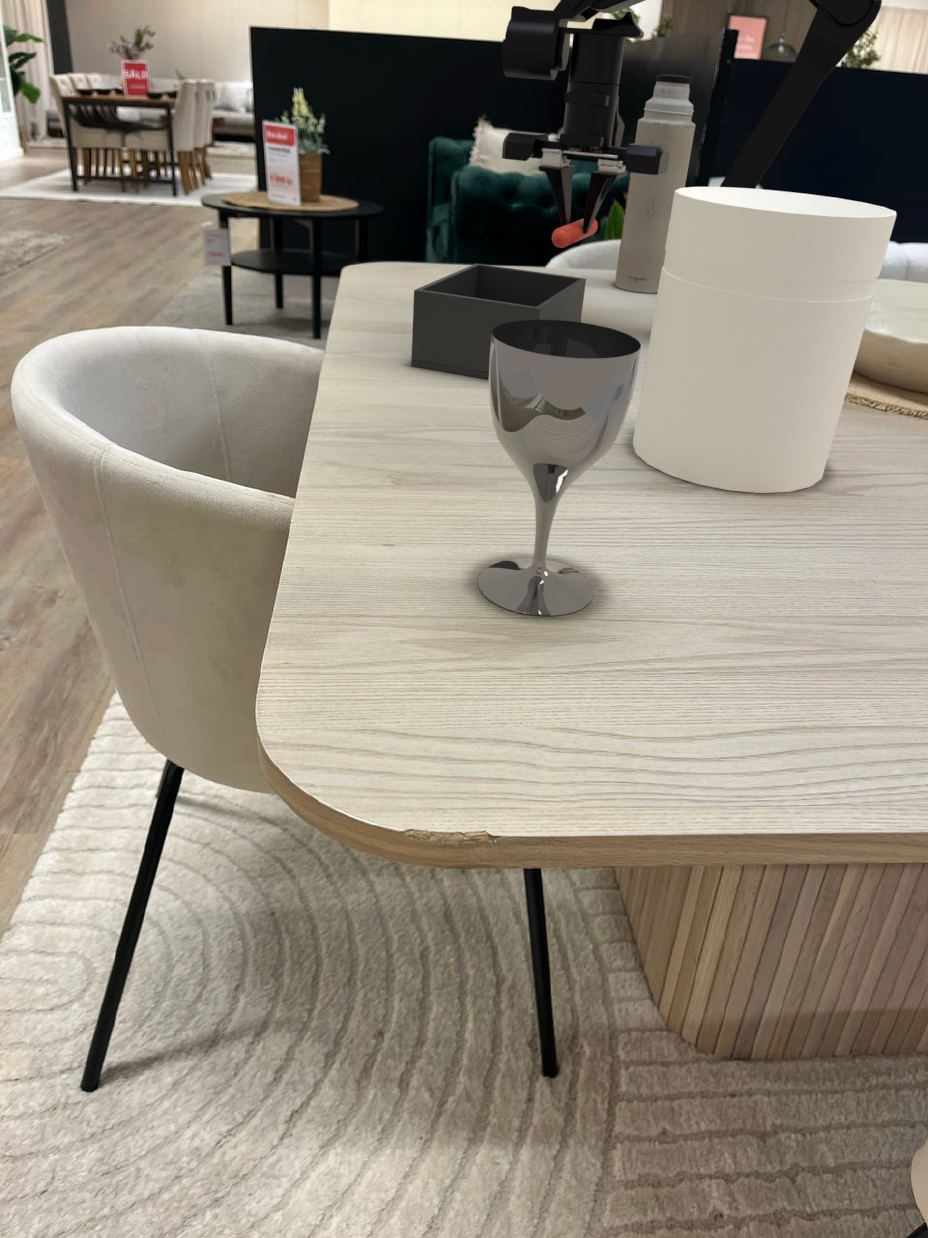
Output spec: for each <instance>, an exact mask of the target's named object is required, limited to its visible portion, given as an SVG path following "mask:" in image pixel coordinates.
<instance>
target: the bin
mask: <svg viewBox="0 0 928 1238" xmlns="http://www.w3.org/2000/svg"><path fill="white" fill-rule="evenodd" d="M586 283H587V278H585V277H576V276H569V275H563V274H554V273H547V272H539V271H533V270H525V269H519V268H512V267H504V266H498V265H489V264H483V263H474V264H472V265H469V266H467V267H464V268H462V269H460V270H457V271H456V272H455V271H454V272H453V273H451V274H448V275H446V276H443V277H441V278H439V279H437V280H434V281H432V282H429V283H426V284H424V285H422V286H420V287H418V288H416V289H413V306H412V307H413V309H412V334H411V335H412V336H411V339H412V340H411V361H410V365H411V367H417V368H422V369H428V370H435V371H438V372H439V371H440V372H444V373H445V372H446V373H451V374H457V375H463V376H469V377H474V378H480V379H486V380H489V354H490V343H491V334H492V330H493V329H494V328H495V327H497V326H498V325H501V324H504V323H508V322H514V321H522V320H562V321H572V322H581V323H582V315H583V308H584V307H583V306H584V298H585V290H586V285H587V284H586Z"/></svg>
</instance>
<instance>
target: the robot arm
mask: <svg viewBox="0 0 928 1238" xmlns="http://www.w3.org/2000/svg"><path fill="white" fill-rule="evenodd" d="M645 1H646V0H560V1H559V2H558V3H557V5H556V6H555V7H554V8H553V10H552V9H550V10H549V9H536V8H529V7H527V6H521V5H513V6H512V7H511V11H510V19H509V21H508V23H507V27H506V31H505V35H504V38H503V39H502V46H501V63H502V65H501V67H502V71H503V74H504V76H505V77H507V78H508V77H509V78H518V79H519V78H520V79H531V80H532V79H533V80H545V81H555V79H556V78H557V75H558V72H559V71H562V72H563V71H565V70H567V69H566V68H567V65H568V62H569V61H570V63H569V64H570V65H569V72H568V82H567V89H566V91H564V95H563V96H564V97H563V103H564V104H565V110H564V117H563V119H564V120H563V126H562V127H563V128H562V133H559V140H558V141H556V140H550V139H549V138H550V137H549V134H548V133H542V132H530V131H511V132H508V133H507V134H506V135H505V136H504V139H503V142H502V151H501V159H504V160H510V161H520V162H528V160H529V159H530V158H531V159H538V160H539V159H540V160H541V163H540V164H541V165H539V166H538V171H539V172H543V173H545V176H546V178H547V180H548V183H549V186H550V188H551V191H552V194H553V197H554V201H555V205H556V209H557V212H558V217H559V221H560V225H561V227H562V226H565V225H567V224H570V222H571V213H572V194H573V193H572V192H573V190H572V189H573V180H574V179H573V178H574V174H575V170H576V165H572V164H571V165H570V162H571V161H578V162H579V161H580V162H587V163H588V162H589V163H596V164H597V167H598V168H597V170H594V171H591V174H590V179H589V184H588V190H587V196H586V204H585V210H584V215H583V218H584V221H583V234H588V232H589V230H590V228H591V226H592V224H593V221H594V219H595V220H596V217H597V214H598V212H599V210H600V207H601V206H602V203H603V202H604V200H605V198H606V196H607V194H608V192H609V190H610V189H611V187H612V185H613V184H614V183H615V182H616V180H618V179H623V178H626V176H627V173H628V172H629V173H630V174H631V173H640V174H649V175H659V174H663V173H666V172H667V168H668V162H669V150H668V149H667V147H666V146H665V145H655V144H644V143H635V142H634V143H629V144H628V145H627V147H621V146H622V142H623V136H624V133H625V128H626V127H625V123H624V121H623V119H622V117H621V115H620V113H619V104H620V101H619V100H620V95H619V89H620V86H619V85H620V80H621V73H622V65H623V59H624V52H625V43H626V39H633V40H634V39H635V40H636V39H637V40H641V39H643V38H644V37H645V31H644V30H642V28H641V27H640V26H639V24H638V22H637V21H636V18H635V14H634V13H633V12H631V11H627V12H626V13H625V14H624V16H622V17H621V18H620V19H619V18H618V19H617V18H604V17H595V16H596V15H598V14H600V13H602V14H613V13H617V12H619V11H622V10H625V9H627V8H630V7H633V6H635V5H638V4H640V3H643V2H645ZM807 1H808V2H809V3H810V4H811V5H812V6H813V7H814V8H815V9H816V11H815V13H814V16H813V18H812V21H811V23H810V25H809V27H808V30H807V32H806V35H805V37H804V40H803V42H802V45H801V47H800V49H799V51H798V54H797V56H796V59H795V61H794V63H793V65H792V67H791V68H790V70H789V71H788V73H787V75H786V76H785V78H784V79H783V81H782V82H781V84H780V86H779V88H778V90H777V91H776V93H775V94H774V96H773V98H772V100H771V101H770V103H769V104H768V106H767V108H766V109H765V111H764V113H763V115H762V116H761V118H760V119H759V121H758V122H757V124H756V126H755V128H754V129H753V130H752V132H751V134H750V136H749V138H748V139H747V141H746V142H745V143H744V146H743V147H742V149H741V151H740V152H739V153H738V156H737V157H736V159H735V161H734V162H733V164H732V165H731V167H730V168H729V170H728V172H727V173H726V175H725V177H724V179H723V180H722V182H721V183H720V185H719V187H732V188H750V189H757V187H758V185H759V184H760V182H761V180H762V179H763V177H764V175H765V174H766V172H767V170H768V169H769V168H770V166H771V165H772V163H773V161H774V160H775V158H776V156H777V155H778V153H779V151H780V150H781V148H782V147H783V145H784V144H785V142H786V141H787V139H788V137H789V136H790V134H791V133H792V131H793V129H794V128H795V126H796V125H797V123H798V122H799V120H800V118H801V117H802V115H803V113H804V112H805V111H806V109H807V107H808V106H809V104H810V102H811V101H812V100H813V97H814V96H815V95H816V93H817V91H818V90H819V89H820V87H821V85H822V84H823V82H824V81H825V80H826V78H827V77H828V76H829V75H830V74H831V73H832V71H833V70H834V69H835V68H836V67H837V66H838V65H839V63H840V62H841V61H842V60H843V59H844V58H845V56H846V55H847V54H848V53H849V51H850V50H851V49H852V48H853V47H854V46H855V44H857V42H858V41H859V40H860V39H861V38H862V37H863V35H864V34H865V33H866V32H867V31H868V30H869V28H870V27H871V26H872V25H873V23H874V22H875V21H876V20H877V17H878V15H879V12H880V10H881V8H882V4H883V0H807ZM593 17H595V18H594V20H593V22H592V24H591V28H588V27H587V28H583V27H569V26H568V23H586V22H588V21H589V20H591V19H592V18H593ZM571 35H572V42H571ZM570 43H571V53H570ZM569 55H570V60H569ZM571 146H573V147H575V146H580V147H579V149H578V148H577V149H576V148H571ZM626 170H627V171H626Z"/></svg>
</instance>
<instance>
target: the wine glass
mask: <svg viewBox="0 0 928 1238" xmlns="http://www.w3.org/2000/svg"><path fill="white" fill-rule="evenodd" d="M641 349H642V344H641V342H640V341H639V339H637V338H636V337H633V336H632V335H630V334H628V333H626V332H623V331H620V330H618V329H615V328H610V327H606V326H603V325H598V324H593V323H592V324H591V323H586V322H582V321H581V322H572V321H562V320H522V321H514V322H508V323H504V324H501V325H498V326H497V327H495V328H494V329H493V330H492V334H491V343H490V354H489V379H488V392H489V406H490V414H491V420H492V425H493V429H494V432H495V436H496V438H497V440H498V441H499V444H500V446H501V447H502V449H503V450H504V452H505V453H506V454H507V456H508V457H509V458H510V460H511V461H512V462H513V464H514V465H515V467H516V468H517V469H518V470H519V472H520V473H521V475H523V477H524V479H525V480H526V482H527V484H528V487H529V488H530V491H531V493H532V496H533V500H534V509H535V510H534V511H535V513H534V514H535V532H534V533H535V536H534V548H533V555H532V558H528V557H527V558H526V557H525V558H511V559H505V560H501V561H498V562H495V563H493V564H491V565H489V566H487V567H485V569H484V570H483V571H482V572H481V573H480V574H479V576H478V579H477V580H478V581H477V582H478V588H479V590H480V592H481V593H482V595H483V596H484V597H486V598H487V599H488V600H489V601H491V602H492V603H494V604H495V605H497V606H500V607H502V608H504V609H506V610H509V611H512V612H516V613H519V614H524V615H530V616H541V617H542V616H543V617H552V616H553V617H555V616H562V615H563V616H564V615H569V614H572V613H575V612H579V611H580V610H583V609H584V608H586V607H587V606H589V605H590V604H591V602H593V599H594V597H595V589H594V585H593V583H592V582H591V580H590V579H589V578H588V577H587V576H586V575H584V574H583V573H582V572H580V571H579V570H577V569H575V568H573V567H571V566H570V565H569V566H568V565H566V564H564V563H560V562H556V561H552V560H548V559H547V554H548V547H549V546H548V545H549V541H550V540H549V538H550V534H551V530H552V527H553V526H552V525H553V522H554V519H555V515H556V510H557V508H558V505H559V502H560V501H561V499H562V498H563V496H564V495H565V493H566V491H567V490H568V489H569V488H570V487H571V486H572V485H573V484H574V483H575V482H576V481H577V480H578V479H579V478H581V477H582V476H583V475H584V474H586V473H587V472H588V471H589V470H590V469H592V468H593V467H594V466H595V465H597V464H598V463H599V462H600V461H601V460H603V458H604V457H605V456H606V455H607V454H608V453H609V452H610V451H611V449H612V447H613V446H614V444H615V443H616V440H617V438H618V437H619V434H620V432H621V430H622V427H623V425H624V422H625V421H626V417H627V414H628V411H629V408H630V404H631V401H632V398H633V396H634V395H633V394H634V390H635V386H636V380H637V376H638V371H639V363H640V357H641Z"/></svg>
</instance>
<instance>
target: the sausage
mask: <svg viewBox="0 0 928 1238" xmlns="http://www.w3.org/2000/svg"><path fill="white" fill-rule="evenodd" d="M583 221H584V217H583V218H581V219H578V220H576V221H573V222H571V223H569V224H567V225H565V226H562V225H561V226H560V227H557V228H555V229H554V230H553V232H552V233H551V241H552V244H553V245H554V247H556V248H561V249H562V248H566V247H568V246H570V245H573V244H574V243H578V242H579V241H582V240H584V239H586V238H588V237H590V236H593V235H594V234H596V232H597V231H598V228H599V224H598V221H597V220H596V218H595V219H594V221H593V224H592V226H591V228H590V230H589V232H588V234H583Z"/></svg>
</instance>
